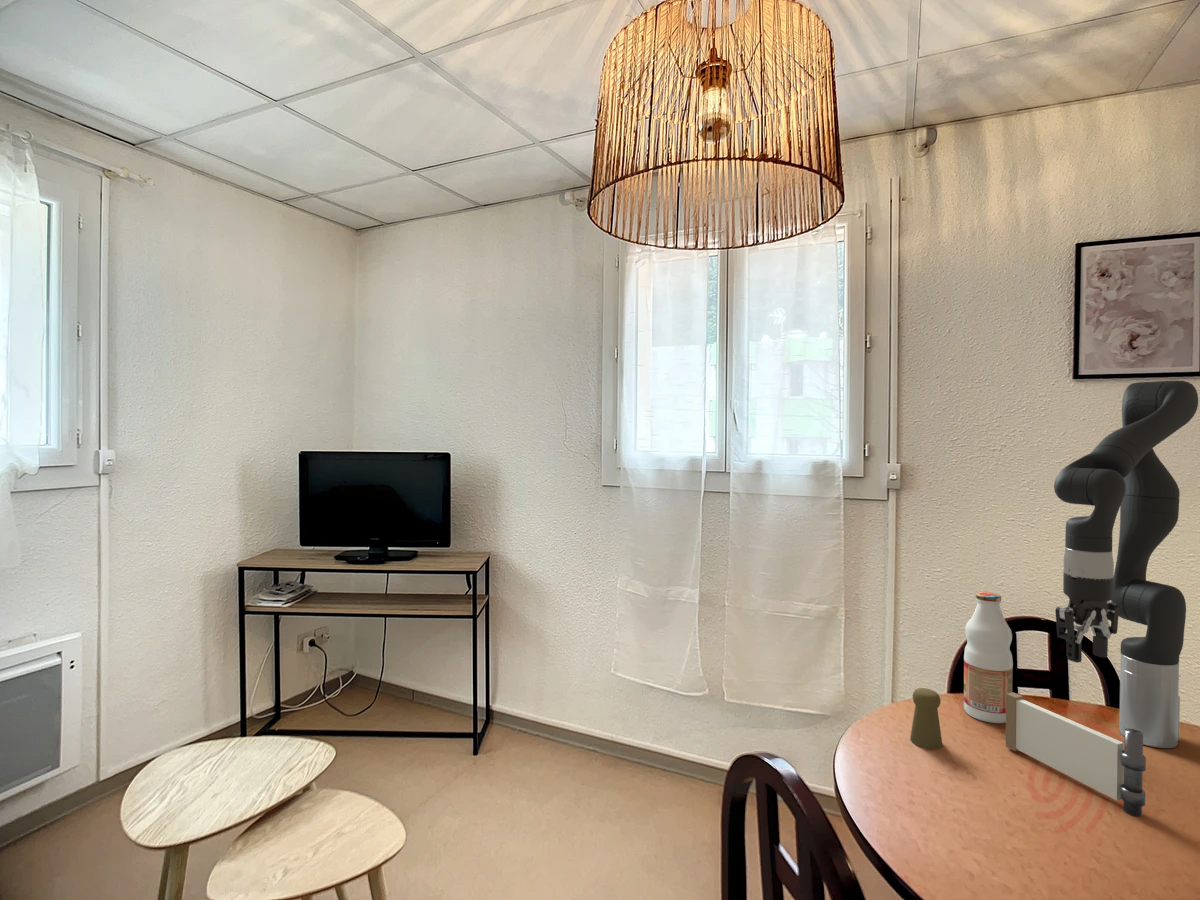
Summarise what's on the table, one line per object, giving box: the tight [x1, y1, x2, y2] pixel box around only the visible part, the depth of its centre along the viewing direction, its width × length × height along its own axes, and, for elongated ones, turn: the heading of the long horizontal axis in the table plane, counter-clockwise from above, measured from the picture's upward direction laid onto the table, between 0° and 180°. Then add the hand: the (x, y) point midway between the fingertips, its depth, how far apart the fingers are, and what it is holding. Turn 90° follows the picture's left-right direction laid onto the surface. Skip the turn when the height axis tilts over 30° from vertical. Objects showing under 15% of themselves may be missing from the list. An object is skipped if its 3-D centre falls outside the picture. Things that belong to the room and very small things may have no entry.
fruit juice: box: [963, 591, 1014, 724], centre depth 141 cm, size 9×9×28 cm
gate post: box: [1121, 729, 1147, 818], centre depth 105 cm, size 3×3×14 cm
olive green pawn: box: [909, 687, 943, 750], centre depth 130 cm, size 6×6×11 cm
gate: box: [1005, 691, 1124, 801], centre depth 117 cm, size 20×2×11 cm, turn 18°
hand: (1087, 658), depth 118 cm, fingers open, 6 cm apart
